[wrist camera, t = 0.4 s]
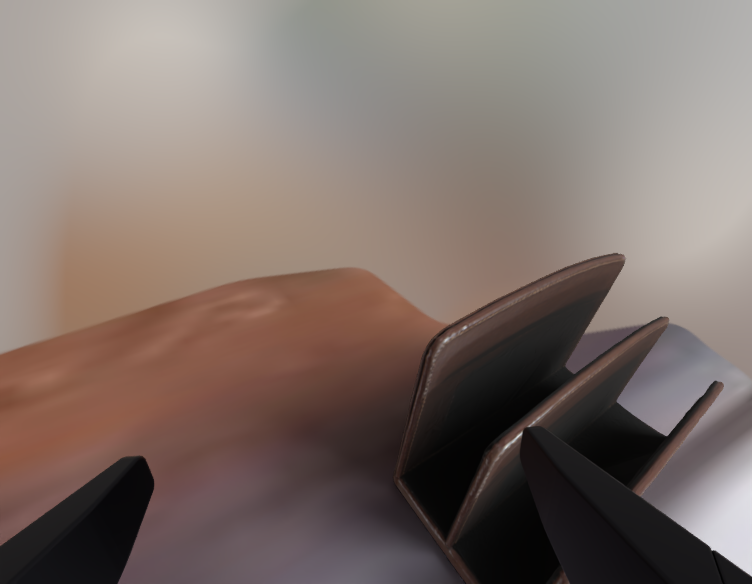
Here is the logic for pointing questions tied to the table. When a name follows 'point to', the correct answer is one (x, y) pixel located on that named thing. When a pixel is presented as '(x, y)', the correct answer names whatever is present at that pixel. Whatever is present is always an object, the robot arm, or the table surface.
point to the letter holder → (524, 421)
